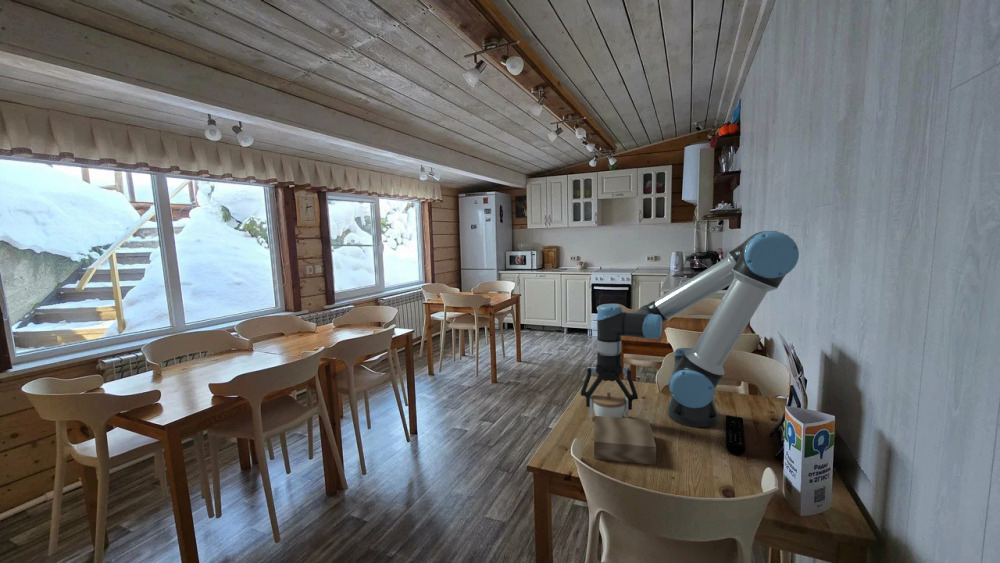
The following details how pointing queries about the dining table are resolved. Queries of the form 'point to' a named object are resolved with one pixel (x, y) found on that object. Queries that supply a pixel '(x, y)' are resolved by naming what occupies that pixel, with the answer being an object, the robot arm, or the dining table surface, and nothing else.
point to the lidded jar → (608, 404)
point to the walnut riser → (624, 440)
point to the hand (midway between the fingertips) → (608, 417)
